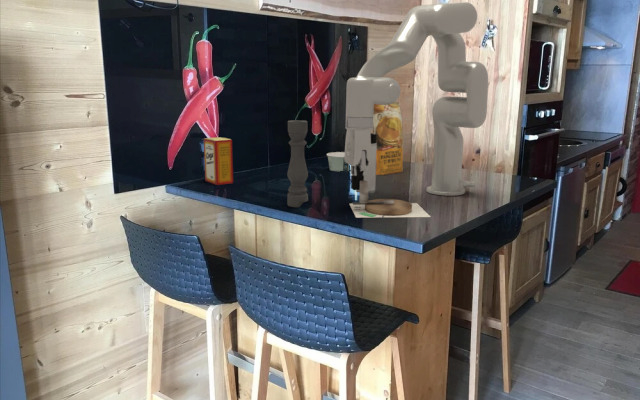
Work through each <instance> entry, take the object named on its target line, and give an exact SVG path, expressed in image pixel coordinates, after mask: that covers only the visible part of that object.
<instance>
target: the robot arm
mask: <svg viewBox="0 0 640 400" xmlns="http://www.w3.org/2000/svg"><path fill="white" fill-rule="evenodd" d="M477 22H478V12H477V8H476V7H475V5H473V4H472V3H471V2H467V1H465V2H451V3H445V2H443V3H442V2H441V3H434V4H423V5H417V6H413V7H412V8H411V9H409V11H408V12H407V13H406V15H405V17H404V19H403V20H402V21H401V24H400V25H399V27H398V29H397V30H396V32H395V33H394V35H393V37H392V39H391V41H390V42H389V43H388V44H387V45H386V46H384V47H382V49H380V50H379V51H377V52H376V53H375V54H374V55H372V56H371V57H370V58H369V59H368V60H367V61H365V63H364V64H363V65H362V67H361V69H360V70H359V72H358V73H357V75H356V77H350V78H349V79H348V80H347V81H346V94H345V95H346V98H345V101H346V102H345V129H346V133H345V141H344V142H345V143H344V144H345V145H344V152H345V156H344V160H345V162H346V163H348V164H350V165H351V171H350V172H351V173H350V174H351V177H350V189H351V190H353V191H356V190H360V181H361V180H364V172H365V171H366V166H368V165H369V164H370V159H371V134H370V133H371V130H372V131H373V112H374V104H377V105H389V104H392V103H396V102H397V101H398V99H399V98H400V96H401V86H400V84H399V82H397V80H396V79H394V78H392V77H387V76H386V77H385V75H386V74H388V73H390V72H392V71H394V70H397V69H399V68H402V67H404V66H406V65H409V64H410V63H412V62H414V60H416V57H418V54H419V52H420V50H421V48H422V47H423V45H424V44H425V42H426V40H427V38H429V36H432V38H433V40H434V41H435V43H436V46H437V85H438V88H439V89H440V90H441V91H442V92H445V93H460V94H461V93H464V94H466V95H465V96H442V97H440V98H438V99H437V100H436V101H435V102H434V103H433V106H432V110H431V112H432V115H431V116H432V121H433V148H432V149H433V150H432V153H433V155H432V169H431V171H432V173H431V185H429V186H426V192H427V193H429V194H432V195H437V196H444V197H445V196H447V197H449V196H451V197H452V196H453V197H454V196H462V195H464V194H465V193H466V188H475V187H476V181H469V180H464V179H463V178H462V167H463V152H464V136H463V134H462V131H461V129H460V128H464V129H465V128H466V129H467V128H468V129H477V128H479V127H481V126H483V125H484V123H485V122H486V118H487V113H488V99H489V74H488V70H487V68H486V66H485V65H484V64H483V63H482V62H480V61H466V60H467V58H466V57H467V56H466V55H467V54H466V53H467V51H466V43H465V40H464V38H463V36H462V35H461V34H464V33H468V32H470V31H472V29H474V28H475V26H476V24H477Z"/></svg>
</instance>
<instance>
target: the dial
mask: <svg viewBox="0 0 640 400" xmlns="http://www.w3.org/2000/svg"><path fill="white" fill-rule="evenodd" d="M368 183H369V181H366V180H361V181H360V192H358V193H359V201H358V202H357V201H353V202H352V204H353V205H365V210H366V211H368V212H371V213H375V214H381V215H402V214H407V213H410V212H411V211H412V204H411V202H409V201H407V200H402V199H395V198H376V199H370V200H369V193H368Z"/></svg>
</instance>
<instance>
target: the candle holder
mask: <svg viewBox="0 0 640 400" xmlns="http://www.w3.org/2000/svg"><path fill="white" fill-rule="evenodd" d="M287 133H288V136H289V138H290V141H288V144H289V145H290V160H289V164H288V169H287V173H286V174H287V178H288V180H289V181H290V186H289V187H288V189H287V190H288V192H287V201H286V202H287V206H288V207H291V208H300V207H301V206H302V205H303V204H305V202H308V201H309V193H307V192H308V188H307V187H306V185H305V184H306V181H307V179H308V177H309V172H308V171H309V170H308V167H307V163H306V158H305V146H306V145H307V144H308V143H307V141H306V140H305V139H306V136H307V133H308V121H307V120H303V119H302V120H297V119H296V120H295V119H294V120H288V121H287Z"/></svg>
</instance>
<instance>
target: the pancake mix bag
mask: <svg viewBox="0 0 640 400" xmlns="http://www.w3.org/2000/svg"><path fill="white" fill-rule="evenodd" d="M372 131H373V132H372V133H373V134H377V140H376V141H377V142H376V143H377V144H376V145H377V147H376V176H386V175H393V174H399V173H400V174H401V173H403V170H404V167H403V165H404V164H403V163H404V162H403V161H404V124H403V117H402V108H401V104H399V102H394V103H392V104H389V105H377V104H374V112H373V129H372Z"/></svg>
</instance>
